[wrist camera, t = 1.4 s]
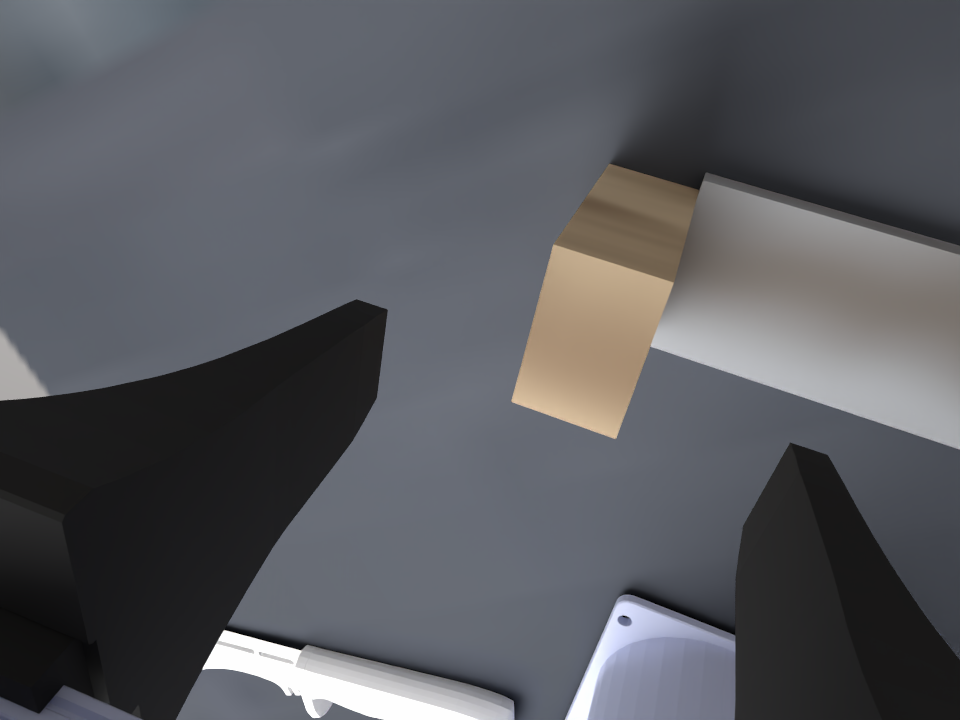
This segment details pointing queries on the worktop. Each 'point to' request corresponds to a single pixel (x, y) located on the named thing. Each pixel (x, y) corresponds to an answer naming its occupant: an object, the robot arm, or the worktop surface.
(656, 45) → the worktop surface
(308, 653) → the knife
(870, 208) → the worktop surface
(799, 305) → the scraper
